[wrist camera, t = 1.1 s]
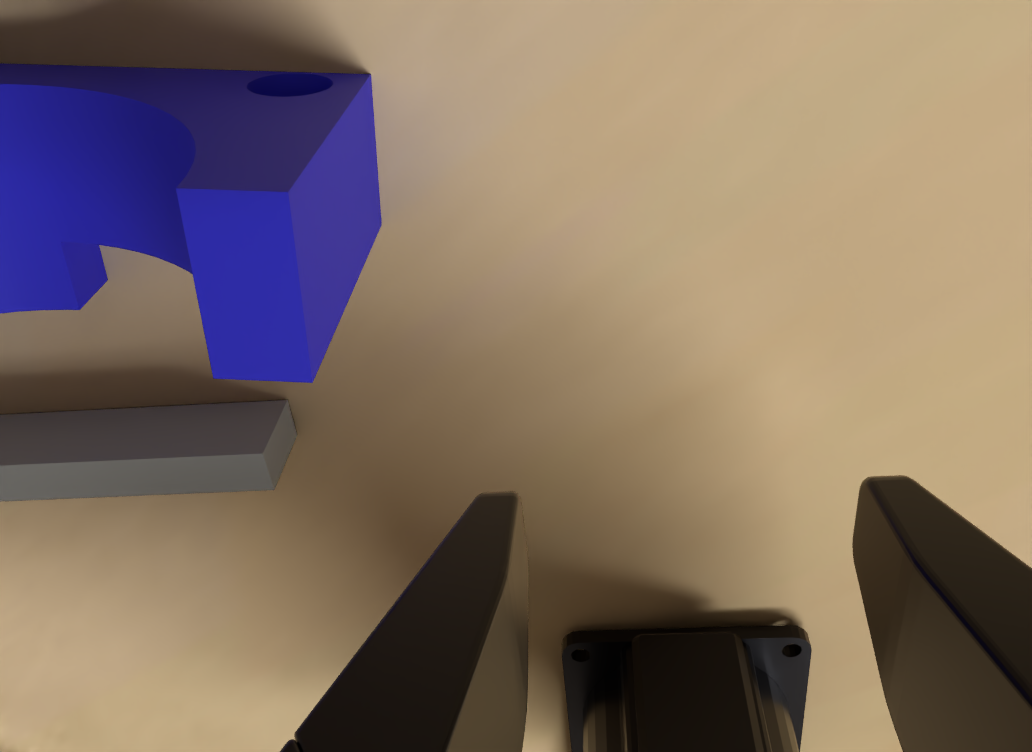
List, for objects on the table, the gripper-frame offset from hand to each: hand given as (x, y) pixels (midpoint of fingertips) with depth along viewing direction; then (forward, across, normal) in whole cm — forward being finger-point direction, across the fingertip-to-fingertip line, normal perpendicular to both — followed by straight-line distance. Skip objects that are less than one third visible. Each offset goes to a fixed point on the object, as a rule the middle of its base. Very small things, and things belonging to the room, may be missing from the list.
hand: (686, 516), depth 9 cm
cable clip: (+10, +11, -1) cm, 15 cm away
